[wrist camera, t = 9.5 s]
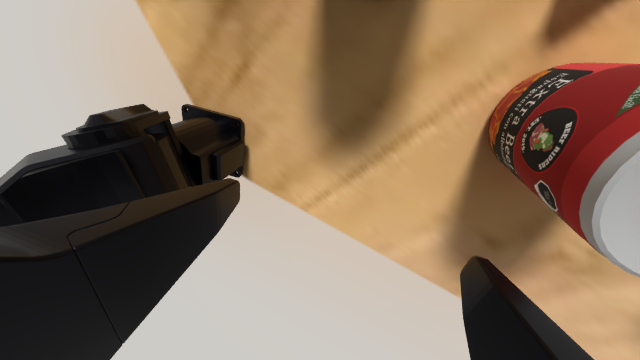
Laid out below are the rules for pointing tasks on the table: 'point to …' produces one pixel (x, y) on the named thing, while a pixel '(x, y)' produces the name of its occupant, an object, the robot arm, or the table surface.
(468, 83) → the table surface
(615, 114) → the canned food
